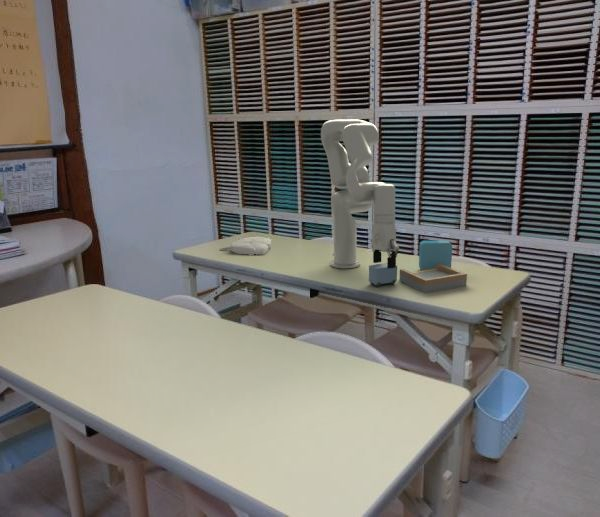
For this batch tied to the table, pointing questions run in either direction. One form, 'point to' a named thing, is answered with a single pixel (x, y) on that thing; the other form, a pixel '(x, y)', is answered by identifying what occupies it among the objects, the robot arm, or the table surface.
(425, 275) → the tray
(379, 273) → the grey-blue rounded box
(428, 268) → the data package
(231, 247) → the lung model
